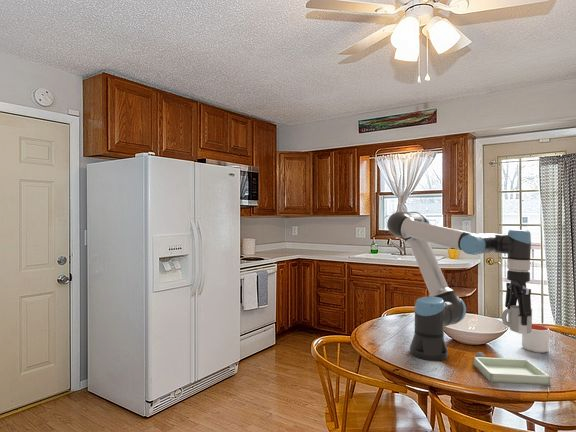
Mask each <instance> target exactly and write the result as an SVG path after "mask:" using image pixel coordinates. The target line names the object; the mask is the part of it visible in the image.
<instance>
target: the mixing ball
mask: <svg viewBox="0 0 576 432" xmlns="http://www.w3.org/2000/svg"><path fill="white" fill-rule="evenodd" d="M474 357H486V355H485V354H484V352H482V351H479V352H476V353H475V355H474Z"/></svg>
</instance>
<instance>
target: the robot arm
mask: <svg viewBox="0 0 576 432" xmlns="http://www.w3.org/2000/svg"><path fill="white" fill-rule="evenodd" d="M386 227H387V230H388V232H389V233H390V234H391V235H393V236H395V237H400V238H403V240H404V243H405V244H406V245H409V246H410V248H411V251H412V253H413V256H414V258H415V260H416V263H417V266H418V268H419V270H420V273H421V276H422V278H423V280H424V283H425V285H426V288H427V291H428V293H429V295H428V296H422V297H421V296H420V297H418V298H417V299H416V300H415V305H414V333H413V337H412V340H411V343H410V345H409V353H410V354H411V355H412V356H413V357H415V358H418V359H420V360H421V359H422V360H426V361H434V362H435V361H444V360H447V359H448V357H449V350H448V347H447V344H446V341H445V337H444V336H445V334H444V333H445V327H447V326H451V325H455V324H458V323H459V322H462V320H463V319H464V318H465V317H466V313H467V307H466V304H465V302H464V300H463V299H462V298H460V297H459V296H457V294H456V292H455V290H454V289H453V288H450V287H449V286H448V285H449V284H448V283H447V281H446V278H445V276H444V274H443V272H442V269H441V266H440V264H439V262H438V260H437V257H436V254H435V252H434V250H433V247H432V245H431V243H433V244H435V245H436V244H437V245H440V246H444V247H448V248H451V249H456V250H460V251H463V252H464V253H465V254H467V255H471V256H472V255H482V254H491V253H493V254H495V253H496V254H504V255H505V254H507V263H506V265H507V266H506V268H507V272H506V274H507V275H506V279H507V280H508V281H510V282H506V283H505V284H506V285H505V286H506V292H505V301H504V302H505V303H504V306H505V307H506V309H510V306H512V305H517V303H518V305H519V311H520V315H518V316H519V321H518V333H517V334H520V335H522V334H527V317H528V316H531V308H532V300H531V299H532V298H531V295H532V289H531V288H527V283H529V282H530V281H531V272H530V270H531V264H532V263H531V254H532V253H531V249H532V248H531V247H532V236H531V232H530V231H529V230H525V229H509V230H508V232H507V233H506V234H501V233H500V234H499V233H489V232H487V233H486V232H482V233H474V232H468V231H464V230H459V229H456V228H455V229H454V228H449V227H445V226H442V225H437V224H432V223H430V220H429V219H428V217H427V216H426V215H425V214H424V213H422V212H418V211H397V212H394V213H392V214H391V215H390V216H389V217H388V219H387V222H386ZM507 322H510V313H508V314H507ZM507 327H508V328H510V327H509V326H507Z"/></svg>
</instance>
